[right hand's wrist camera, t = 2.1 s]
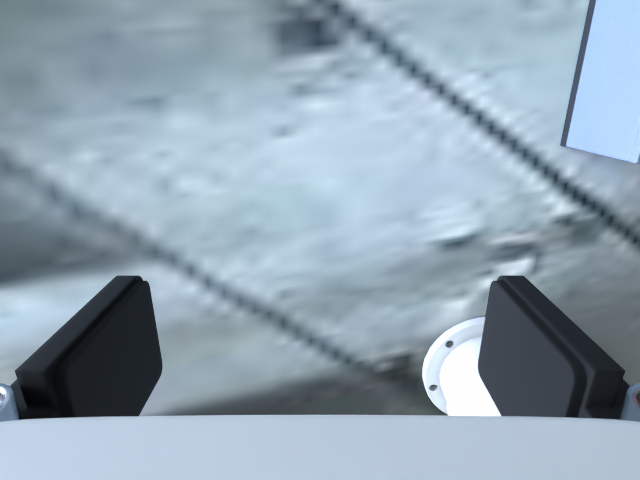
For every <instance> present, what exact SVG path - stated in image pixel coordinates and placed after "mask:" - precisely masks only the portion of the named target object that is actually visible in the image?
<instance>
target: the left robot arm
mask: <svg viewBox="0 0 640 480" xmlns="http://www.w3.org/2000/svg"><path fill="white" fill-rule="evenodd" d="M484 322H485V317H480V318H475V319H471V320H467V321H464V322H462V323H460V324H458V325H455V326H454V327H452V328H451V329H449V330H447V331H446V332H444V333H443V334H442V335H441V336H440V337H439V338H438V339H437V340H436V341H435V342H434V344H433V345H432V346H431V348H430V349H429V351H428V353H427V355H426V357H425V360H424V364H423V381H424V385H425V388H426V391H427V393H428V396H429V397H430V399H431V400H432V402H433V403H434V404H435V405H436V406H437V407H438V408H439V409H440V410H441V411H443V412H445V413H446V414H448V415H449V416H501V414H500V413H499V411H498V409H497V407H496V405H495V403H494V402H493V400H492V398H491V396H490V394H489V393H488V391H487V389H486V387H485V385H484V383H483V382H482V380H481V378H480V376H479V373H478V358H479V352H480V346H481V340H482V334H483V328H484Z"/></svg>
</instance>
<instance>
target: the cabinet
mask: <svg viewBox="0 0 640 480" xmlns="http://www.w3.org/2000/svg"><path fill="white" fill-rule="evenodd" d="M561 146H565V147H570V148H575V149H579V150H583V151H587V152H591V153H595V154H599V155H603V156H608V157H612V158H616V159H620V160H624V161H628V162H632V163H636V164H640V0H590V2H589V7H588V12H587V17H586V22H585V27H584V31H583V36H582V41H581V46H580V51H579V56H578V61H577V66H576V71H575V76H574V81H573V86H572V91H571V95H570V100H569V105H568V110H567V115H566V120H565V125H564V130H563V135H562V140H561Z"/></svg>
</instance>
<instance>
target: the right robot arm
mask: <svg viewBox="0 0 640 480" xmlns="http://www.w3.org/2000/svg"><path fill="white" fill-rule="evenodd" d="M15 373H16V376H17V380H16V381H15V382H14V383H13V384H12V385H11V386H7V385H5V384H1V383H0V480H640V383H639V384H635V385H633V386H629V385H628V384H627V383H626V382H625V381H624V380H623V376H624V373H625V370H624V369H623V368H621V367H620V366H619V365H618V364H617V363H616V362H615V361H614V360H613V359H612V358H611V357H610V356H609V355H608V354H607V353H605V352H604V351H603V350H602V349H601V348H600V347H599V346H598V345H597V344H596V343H595V342H594V341H593V340H592V339H590V338H589V337H588V336H587V335H586V334H585V333H584V332H583V331H582V330H581V329H580V328H579V327H578V326H577V325H575V324H574V323H573V322H572V321H571V320H570V319H569V318H568V317H567V316H566V315H565V314H564V313H563V312H562V311H561V310H559V309H558V308H557V307H556V306H555V305H554V304H553V303H552V302H551V301H550V300H549V299H548V298H547V297H546V296H544V295H543V294H542V293H541V292H540V291H539V290H538V289H537V288H536V287H535V286H534V285H533V284H532V283H531V282H530V281H528V280H527V279H526V278H525V277H524V276H500V277H499V278H498V280H497V281H493V282H492V283H491V286H490V292H489V298H488V304H487V310H486V316H485V322H484V328H483V334H482V340H481V346H480V352H479V358H478V373H479V376H480V378H481V380H482V382H483V383H484V385H485V387H486V389H487V391H488V393H489V394H490V396H491V398H492V400H493V402H494V403H495V405H496V407H497V409H498V411H499V413H500V414H501V416H422V415H209V416H139V414H140V413H141V411H142V409H143V407H144V405H145V403H146V402H147V400H148V398H149V396H150V394H151V393H152V391H153V389H154V387H155V385H156V383H157V382H158V380H159V378H160V376H161V373H162V358H161V352H160V346H159V340H158V334H157V328H156V322H155V316H154V310H153V304H152V298H151V292H150V286H149V283H148V282H147V281H143V280H142V278H141V277H140V276H116V277H115V278H114V279H113V280H112V281H110V282H109V283H108V284H107V285H106V286H105V287H104V288H103V289H102V290H101V291H100V292H99V293H98V294H97V295H96V296H94V297H93V298H92V299H91V300H90V301H89V302H88V303H87V304H86V305H85V306H84V307H83V308H82V309H81V310H79V311H78V312H77V313H76V314H75V315H74V316H73V317H72V318H71V319H70V320H69V321H68V322H67V323H66V324H65V325H63V326H62V327H61V328H60V329H59V330H58V331H57V332H56V333H55V334H54V335H53V336H52V337H51V338H50V339H48V340H47V341H46V342H45V343H44V344H43V345H42V346H41V347H40V348H39V349H38V350H37V351H36V352H35V353H33V354H32V355H31V356H30V357H29V358H28V359H27V360H26V361H25V362H24V363H23V364H22V365H21V366H20V367H19V368H17V369H16V370H15Z"/></svg>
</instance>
